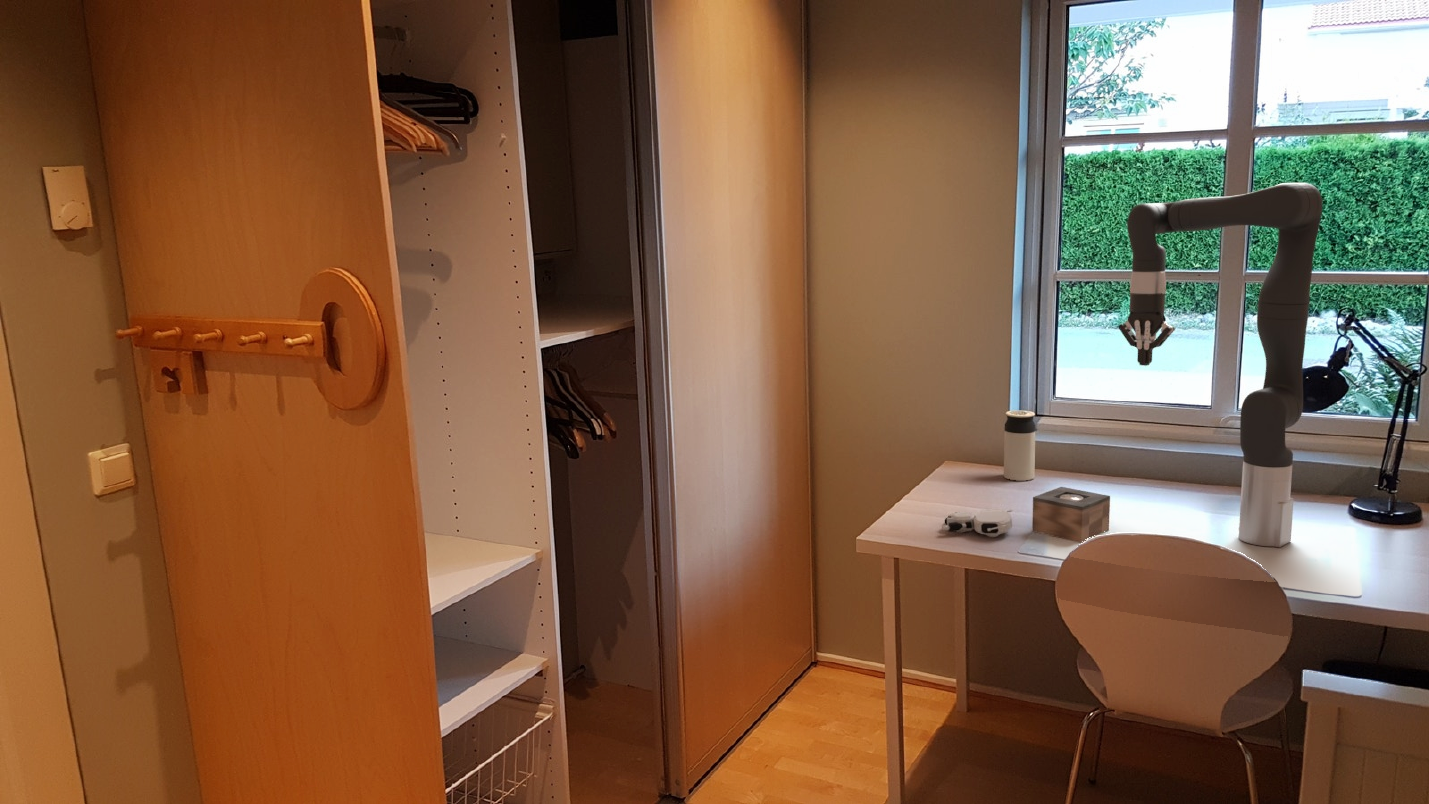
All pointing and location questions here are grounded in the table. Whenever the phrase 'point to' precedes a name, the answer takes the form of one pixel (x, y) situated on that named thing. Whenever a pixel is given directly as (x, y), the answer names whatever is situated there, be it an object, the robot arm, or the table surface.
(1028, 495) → the table surface
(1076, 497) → the peg
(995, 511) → the robot toy
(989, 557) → the table surface
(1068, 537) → the band block
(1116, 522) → the table surface
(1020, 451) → the travel mug
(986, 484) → the table surface
